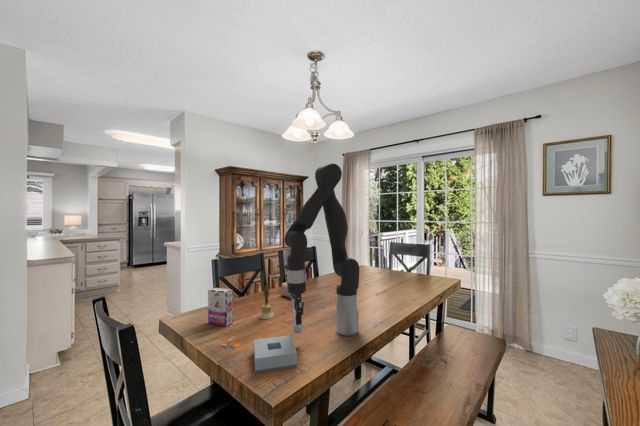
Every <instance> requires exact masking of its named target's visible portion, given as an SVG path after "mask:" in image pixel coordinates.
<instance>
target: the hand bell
mask: <svg viewBox="0 0 640 426" xmlns="http://www.w3.org/2000/svg"><path fill="white" fill-rule="evenodd" d="M263 290H264V291H263V295H264V304H263V305H262V306H261V312H260V313H259V314H258V316H257V317H258V319H260V320H271V319H273V318H275V316H276V315H275V313H274V312H273V311H272V306H271V304H269V295H270V288H269V285H265V286H264V289H263Z"/></svg>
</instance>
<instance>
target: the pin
mask: <svg viewBox="0 0 640 426" xmlns="http://www.w3.org/2000/svg"><path fill="white" fill-rule="evenodd" d="M296 307H297V306H296ZM298 312H300V311H298ZM301 317H302V318H303V315H301ZM292 324H293V325H292V326H293V330H292V331H293V333H294V334H301V333H303V323H302V324H301V325H296V315H295V309H294V303H293V308H292Z"/></svg>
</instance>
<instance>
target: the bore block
mask: <svg viewBox="0 0 640 426" xmlns="http://www.w3.org/2000/svg"><path fill="white" fill-rule="evenodd" d="M253 361H254V369H255V374H263V373H268V372H273V371H275V372H276V371H281V370H287V369H294V368H298V352H297V349H296V347H295V343H294V341H293V339H292V336H291V335H283V336H281V335H280V336H273V337H265V338H258V339H253Z"/></svg>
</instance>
